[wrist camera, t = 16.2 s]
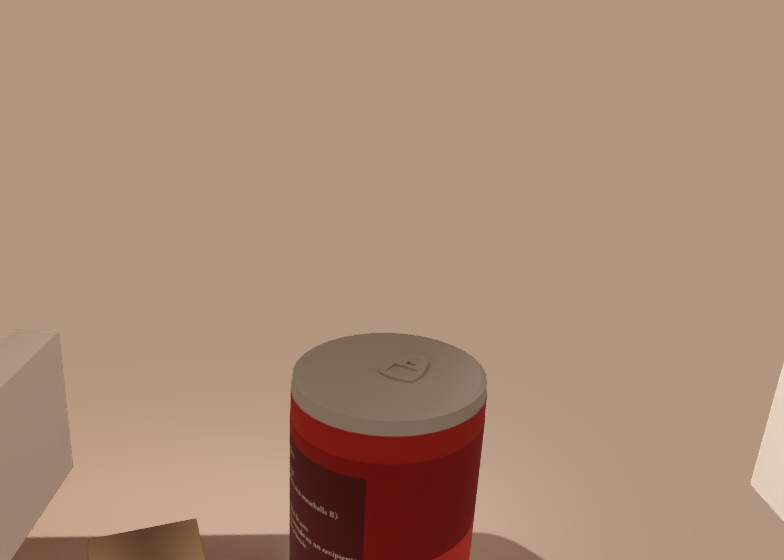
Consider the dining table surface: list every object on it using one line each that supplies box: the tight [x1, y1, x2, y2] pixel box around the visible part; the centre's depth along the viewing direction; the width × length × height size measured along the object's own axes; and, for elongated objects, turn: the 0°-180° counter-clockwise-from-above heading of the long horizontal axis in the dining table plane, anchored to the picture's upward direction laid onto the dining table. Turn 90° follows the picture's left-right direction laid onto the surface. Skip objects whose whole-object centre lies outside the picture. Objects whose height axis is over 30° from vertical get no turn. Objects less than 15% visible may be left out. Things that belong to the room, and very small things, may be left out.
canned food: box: [290, 333, 487, 560], centre depth 29 cm, size 8×8×11 cm
